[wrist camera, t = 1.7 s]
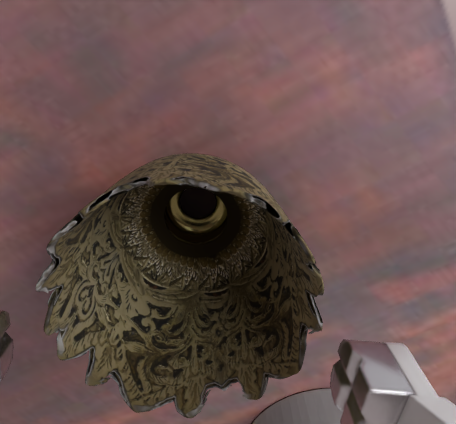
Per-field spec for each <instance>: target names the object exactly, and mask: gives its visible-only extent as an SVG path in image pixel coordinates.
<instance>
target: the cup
mask: <svg viewBox="0 0 456 424" xmlns="http://www.w3.org/2000/svg"><path fill="white" fill-rule="evenodd" d="M190 188H201V189H205V190H208V191H210V192H212V193H214V195H215V197H216V207H215V209H214V211H213V212H212V213H211V214H210V215H209V216H207V217H205V218H200V219H198V218H192V217H190V216H188V215H187V214H185V213H184V211H183V210H182V208H181V206H180V197H181V194H182V193H183V191H184V190H185V189H190ZM46 249H47V252H48V254H49V255H50V256H51V258H52V263H51V264H50V265H49V266H48V268H47V269H46V270H45V271H44V272H43V274H42V276H41V278H40V279H39V281H38V283H37V285H36V291H38V292H40V291H44V292H47V293H48V291H51V290H54V289H55V290H54V291H53V293H52V294H51V296H50V298H49V301H48V307H49V308H48V311H47V315H46V319H45V324H44V332H45V333H46V335H51V334H53V333H54V332H56V333H57V332H58V331H59V334H58V336H57V355H58V357H59V359H60V360H70V359H73V358H77V357H80V356H82V355H84V354H86V353H87V351H88V350H89V352H90V353H89V357H88V358H89V364H88V368H87V373H86V379H85V383H86V384H87V385H89V386H97V385H98V384H104V383H105V382H107V381H108V379H110V378H109V377H108V378H106V377H107V376H108V375H112V376H110V377H111V378H113V379H114V380H115V381H116V382H117V383H118V386H119V390H120V393H121V396H122V398H123V399H124V401H125V402H126V403H127V405H128V406H129V407H130V408H131V409H132V410H133V411H134V412H138V413H139V412H146V411H150V410H153V409H156V408H158V407H161V406H163V405H165V404H167V403H171V402H173V401H174V402H175V406H176V409H177V412H178V413H180V414H181V415H182V416H184V417H186V418H193V417H194V416H196V415H197V414H198V413H200V412H201V409H202V407H203V406H204V405H205V404H204V403H205V402H206V400H207V399H206V397H207V396H208V392H209V391H210V390H209V391H208V392H207V393H206V391H207V389H209V388H213V387H218V388H220V389H222V390H223V391H225V390H226V389H227V388H228V387H229V386H232V385H230V384H231V383H236V382H239V383H240V384H241V386H242V389H243V390H242V391H243V392H244V393H245V394H244V395H243V396H244V397H245V398H246V399H253V400H257V399H260V398H261V397H262V395H263V394H264V392H265V390H266V386H267V383H268V377H270V378H271V377H272V378H275V379H283V378H287V377H290V376H292V375H294V374H297V373H298V372H299V371H300V370H301V367H302V364H303V360H304V355H305V350H306V338H307V332H308V329H312V331H311V332H309V334H310V333H311V334H312V333H314V332H318V331H320V330H322V326H323V322H322V318H321V316H320V313H319V311H318V308H317V306H316V303H315V300H314V297H317V295H323V293H324V283H323V279H322V276H321V273H320V270H319V269H318V268H317V267H316V265H315V263H316V262H315V259H314V257H313V255H312V253H311V251H310V249H309V248H308V246H307V245H306V243H305V241H304V240H303V238H302V237H301V235H300V233H299V232H298V230H297V229H296V228H295V227H294V226H293V224H292V223H291V222H290V220H289V219H288V217H287V216H286V214H285V213H284V212H283V210H282V209H281V207H280V206H279V205H278V203H277V202H276V201H275V199H274V198H273V197H272V196H271V194H270V193H269V192H268V191H267V190H266V188H265V187H264V186H263V185H262V184H261V183H260V182H259V181H258V180H257V179H255V178H254V177H253V176H252V175H251V174H249V173H248V172H247V171H245V170H244V169H242V168H241V167H239V166H237V165H236V164H233V163H231V162H229V161H227V160H224V159H221V158H218V157H215V156H210V155H205V154H177V155H171V156H166V157H162V158H160V159H157V160H154V161H152V162H149V163H147V164H145V165H143V166H141V167H139V168H138V169H136V170H134V171H133V172H131V173H130V174H128V175H127V176H125V177H124V178H122V179H121V180H120V181H118V182H117V183H116V184H115V185H113V186H112V187H111V188H110V189H108V190H107V191H106V192H105V193H103V194H102V195H100V196H99V197H97V198H96V199H95V200H93V201H92V202H91V203H89V204H88V205H87V206H85V207H84V208H83V209H82V210H81V211H80V212H78V214H77V215H76V216H75V217H74V218H73V219H72V220H71V221H70V222H69V223H68V224H66V225H65V226H64V227H63V228H62V229H61V230H60V231H58V232H57V234H56V235H55V236H54V237H53V238H52V239H51V241H50V242H49V244H48V246H47V248H46ZM205 393H206V394H205ZM204 395H205V397H204ZM203 397H204V400H203ZM202 402H203V404H202Z"/></svg>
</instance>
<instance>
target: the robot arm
mask: <svg viewBox="0 0 456 424" xmlns="http://www.w3.org/2000/svg"><path fill="white" fill-rule="evenodd" d="M10 325H11V324H10V319H9V313H7V312H5V311H2V310H0V381H2V379H3V377H4V376H5V374H6V373H7V371H8V369H9V366H10V363H11V360H12V358H13V348H14V347H13V339H12V338H11V337H10V336H9V335H8V334H7V333H6V332H5V331H6V330H7V329H8V327H9V326H10ZM338 354H339V356H340V360H339V361H338V362H337V363H335V364H334V365H333V369H332V372H331V383H330V387H331V394H332V398H333V401H334V404H335V406H336V407H337V408H338V409H339V410H341V411H342V412H343V414H342V417H341V420H340V423H341V424H456V405H454V404H453V403H452V402H450V401H449V400H448V399H446V398H445V397H438V395H437V393H436V392H435V390H434V389H433V387H432V386H431V384H430V382H429V381H428V379H427V378H426V376H425V375H424V373H423V371H422V370H421V368H420V367H419V365H418V363H417V362H416V360H415V359H414V357H413V356H412V354H411V352H410V351H409V349H408V348H407V346H405V345H404V344H403V343H391V342H382V343H381V342H371V341H358V340H345V339H343V341H342V342H341V343H340V346H339V349H338Z"/></svg>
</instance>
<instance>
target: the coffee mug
mask: <svg viewBox="0 0 456 424" xmlns="http://www.w3.org/2000/svg"><path fill="white" fill-rule="evenodd" d="M342 414H343V412H342V411H341V410H339V409H338V408H337V407H336V406H335V404H334V401H333V398H332V394H331V389H318V390H312V391H306V392H302V393H299V394H295V395H292V396H289V397H287V398H285V399H283V400H281V401H279V402H277V403H275V404H273V405H272V406H270V407H269V408H268V409H266V410H265V411H264V412H262V413H261V414H260V415H259V416H258V417H257V418H256V419H255V421H254V422H253V423H252V424H341V423H340V420H341V417H342Z"/></svg>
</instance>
